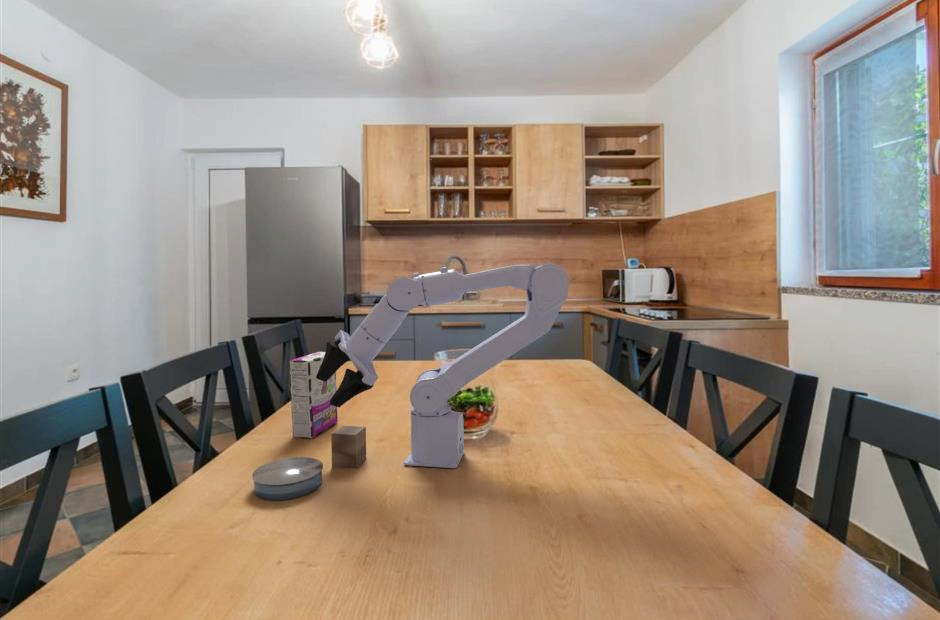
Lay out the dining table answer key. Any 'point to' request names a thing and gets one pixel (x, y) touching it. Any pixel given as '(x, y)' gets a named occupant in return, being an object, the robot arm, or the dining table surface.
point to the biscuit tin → (287, 478)
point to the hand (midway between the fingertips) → (327, 391)
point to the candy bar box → (311, 397)
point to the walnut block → (348, 447)
